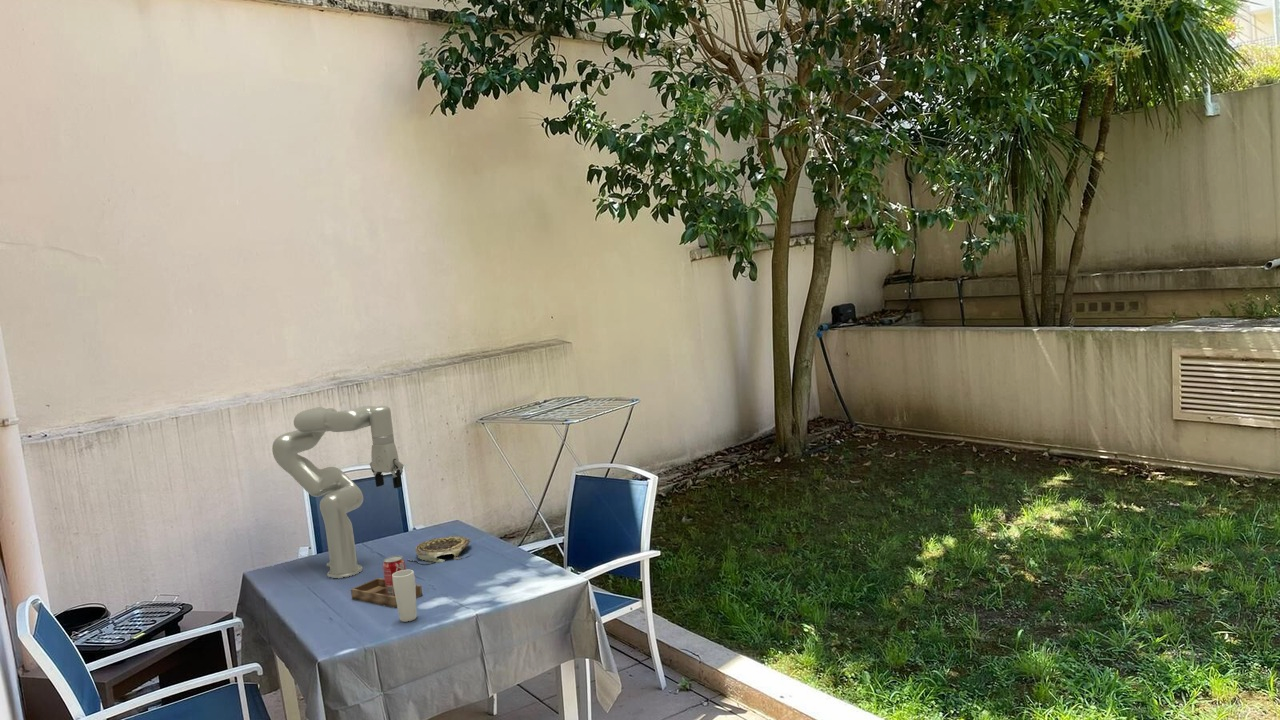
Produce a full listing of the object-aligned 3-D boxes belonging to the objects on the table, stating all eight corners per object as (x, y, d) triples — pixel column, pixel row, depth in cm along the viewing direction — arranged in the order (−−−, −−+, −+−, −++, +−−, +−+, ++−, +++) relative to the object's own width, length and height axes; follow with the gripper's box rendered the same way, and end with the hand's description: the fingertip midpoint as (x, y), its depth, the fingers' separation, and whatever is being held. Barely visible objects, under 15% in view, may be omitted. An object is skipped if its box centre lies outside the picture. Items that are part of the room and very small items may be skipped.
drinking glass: (399, 616, 273) (394, 570, 272) (421, 613, 273) (415, 568, 272) (395, 624, 266) (389, 577, 265) (417, 622, 267) (411, 575, 265)
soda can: (402, 600, 285) (397, 562, 284) (382, 600, 287) (378, 562, 285) (412, 592, 292) (408, 555, 291) (393, 592, 293) (389, 555, 292)
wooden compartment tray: (352, 599, 294) (350, 589, 293) (379, 587, 303) (378, 578, 303) (395, 607, 281) (394, 597, 281) (422, 595, 291) (421, 585, 290)
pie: (396, 557, 339) (394, 545, 339) (456, 540, 357) (455, 528, 357) (431, 570, 318) (429, 557, 318) (493, 551, 337) (492, 538, 336)
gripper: (359, 441, 312) (365, 487, 314) (390, 443, 303) (396, 490, 304) (376, 437, 318) (381, 482, 320) (407, 438, 309) (413, 485, 310)
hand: (388, 486), depth 312 cm, fingers open, 9 cm apart
